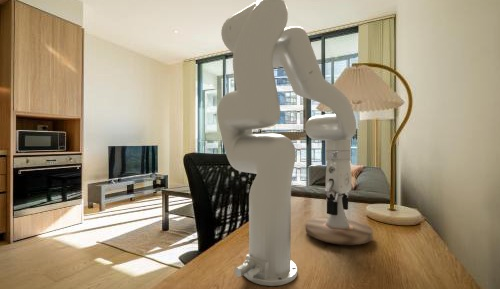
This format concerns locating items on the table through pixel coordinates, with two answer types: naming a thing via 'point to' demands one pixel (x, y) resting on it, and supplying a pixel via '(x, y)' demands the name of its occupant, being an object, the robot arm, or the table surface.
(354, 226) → the turntable
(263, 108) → the robot arm
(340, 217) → the flask
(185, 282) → the table surface
